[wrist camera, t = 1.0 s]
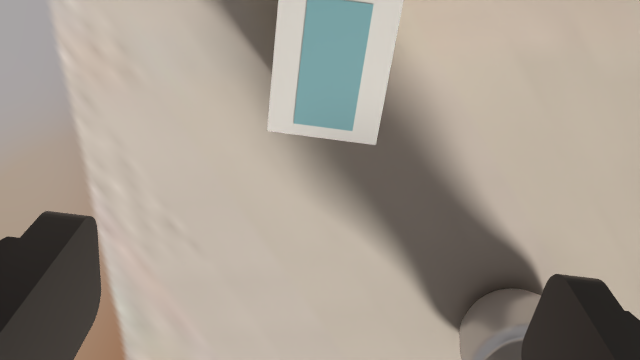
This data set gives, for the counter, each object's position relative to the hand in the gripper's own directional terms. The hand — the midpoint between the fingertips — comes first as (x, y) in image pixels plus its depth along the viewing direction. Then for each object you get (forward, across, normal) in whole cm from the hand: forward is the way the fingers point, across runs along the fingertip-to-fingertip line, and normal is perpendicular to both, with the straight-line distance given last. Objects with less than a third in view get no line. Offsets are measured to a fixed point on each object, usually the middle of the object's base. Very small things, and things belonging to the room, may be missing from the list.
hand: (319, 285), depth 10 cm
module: (+19, 0, 0) cm, 19 cm away
